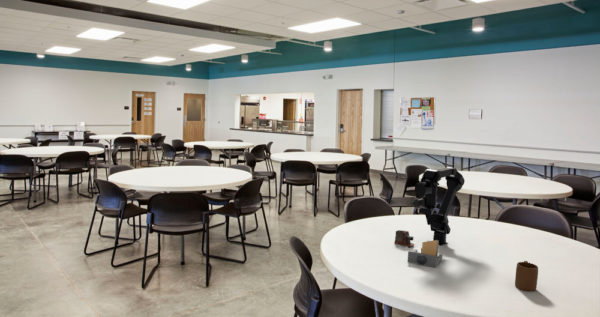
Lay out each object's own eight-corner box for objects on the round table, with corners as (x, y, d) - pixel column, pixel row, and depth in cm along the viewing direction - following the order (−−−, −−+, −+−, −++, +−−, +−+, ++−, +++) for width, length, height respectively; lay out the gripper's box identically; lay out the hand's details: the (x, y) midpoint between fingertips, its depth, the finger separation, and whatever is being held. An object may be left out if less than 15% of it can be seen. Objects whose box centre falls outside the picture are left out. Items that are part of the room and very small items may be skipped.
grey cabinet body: (414, 255, 196) (415, 245, 196) (441, 260, 190) (442, 250, 189) (406, 262, 186) (407, 251, 186) (435, 268, 180) (436, 257, 179)
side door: (419, 261, 188) (421, 241, 187) (434, 258, 192) (436, 239, 191) (422, 262, 186) (424, 242, 185) (437, 259, 190) (439, 240, 189)
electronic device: (410, 248, 206) (411, 234, 205) (393, 244, 213) (394, 229, 212) (414, 246, 209) (415, 232, 208) (398, 242, 216) (399, 228, 215)
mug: (513, 278, 171) (515, 257, 170) (533, 282, 168) (536, 260, 167) (515, 289, 160) (517, 266, 159) (537, 293, 157) (539, 270, 156)
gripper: (420, 189, 217) (418, 218, 219) (409, 195, 201) (407, 225, 203) (441, 192, 211) (439, 222, 213) (432, 198, 195) (430, 229, 197)
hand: (428, 224), depth 206 cm, fingers closed
